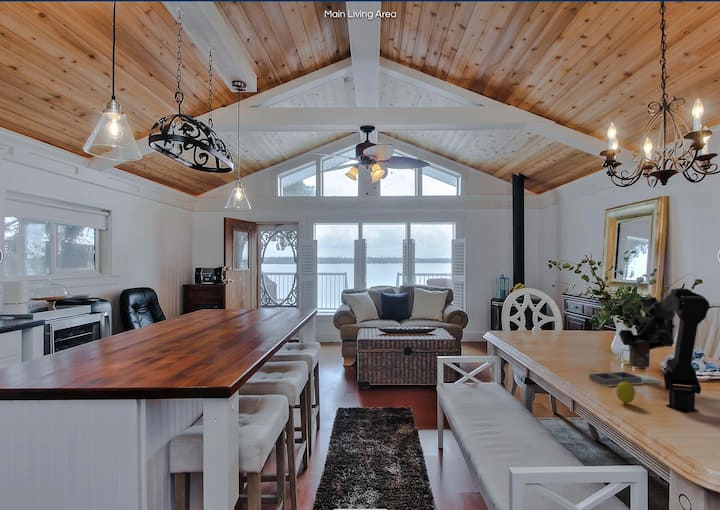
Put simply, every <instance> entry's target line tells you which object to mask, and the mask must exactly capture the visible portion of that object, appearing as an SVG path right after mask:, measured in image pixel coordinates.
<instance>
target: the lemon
mask: <svg viewBox="0 0 720 510" xmlns="http://www.w3.org/2000/svg"><path fill="white" fill-rule="evenodd" d="M635 391H636V390H635V388H634V385H631V384H630V383H628V382H627V381H624V382H621V383H619V384H618V386H616V390H615V392H616V397H617V398H618V400H620V401H621V402H622V403H623V404H625V405H627V404H629V403H631V402H633V401H634V400H635V397H636V392H635Z"/></svg>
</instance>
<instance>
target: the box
mask: <svg viewBox="0 0 720 510" xmlns="http://www.w3.org/2000/svg"><path fill="white" fill-rule="evenodd" d="M637 345H638V346H637V347H635V348H634V349H632V350H630V349H629V363H628V365H629V366H631V367H634V368H649V367H650V352H651V351H650V342H643V341H638V342H637Z"/></svg>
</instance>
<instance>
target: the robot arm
mask: <svg viewBox="0 0 720 510" xmlns="http://www.w3.org/2000/svg"><path fill="white" fill-rule="evenodd" d="M641 305H642V308H643V312H644V315H645V316H632V317H631V318H630V321H629V323H630V324H631V325H632V326H635V327H636V332H637V333H638V334H634V333H633V330H630V329H621V330H620V331H619V333H618V335H619V337H620V340H621V342H622V344H623V345H624V346H628V349H629V351H630V350H632V349H634V348H635V347H637V346H638V345H637V342H638V341H643V342H650V350H655V349H659V348H664V347H672V346H673V345H674V344H675V349H674V356H673V358H672V359H671V358H669V359H667V360H666V366H665V370H664V371H663V374H662V375H663V382H664V386H665V387H664V388H665V390H666V391H668V393H669V394H668V404H665V406H666V407H667V408H670V409H672V410H675V411H678V412H681V413H685V414H686V413H696V412H699V411H700V410H699V409H698V408H696V394H698V395H700V394H701V391H702V386H701V385H700V382H699V379H698V376H697V370H695V367H694V366H693V365H692V361H693V354H694V349H695V343H696V340H697V339H696V338H697V332H698V326H699V324H701V323H702V321H703V320H706V317H707V315H708V314H707V313H708V311H709V310H710V302H709V301H708V300H707V299H706V298H705V296H703V295H701V294H698V293H696V292H693V291H692V290H691V289H688V288H678V287H677V288H676V287H675V288H672V289H671V290H670V293H669V294H668V295H667V296H666V297H664V298H663V299H662V301H659V300H657V297H655V296H654V297H651V296H650V297H649V298H647V299H645V300H644V301H642V302H641ZM676 315H677V317H678V319H679V325H678V330H677V337H676V343H675V340H674V338H673V337H672V335H671V333H670V332H669V331H668V329H669V327H668V321H671V320H673V319H674V318H675V316H676Z"/></svg>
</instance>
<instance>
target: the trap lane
mask: <svg viewBox="0 0 720 510" xmlns="http://www.w3.org/2000/svg"><path fill="white" fill-rule="evenodd" d="M588 375H589V378H588V380H589V381H593V382H594V381H595V383H597V382H598V383H597V384H600V383H601V384H600V385H602V384H604V385H603V386H605V385H607V386H606V387H610V386H609V385H618V384H619V383H621V382H624V381H627V382H628V383H630V384H635V385H643V383H649V384H660V383H659V382H663V381H662V380H660V379H658V378H654V377H652V376H648V375H646V374H643V373H639V374H638V373H637V374H636V373H635V374H633V373H628V372H626V371H616V372H600V373H599V372H598V373H589V374H588Z"/></svg>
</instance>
